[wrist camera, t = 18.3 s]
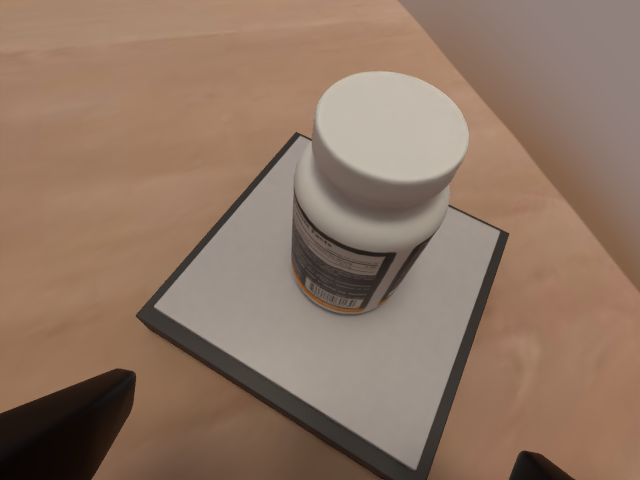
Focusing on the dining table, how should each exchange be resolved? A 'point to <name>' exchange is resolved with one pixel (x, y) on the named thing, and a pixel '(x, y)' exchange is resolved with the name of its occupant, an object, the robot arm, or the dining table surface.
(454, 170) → the pill bottle
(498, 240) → the kitchen scale
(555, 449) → the dining table surface
